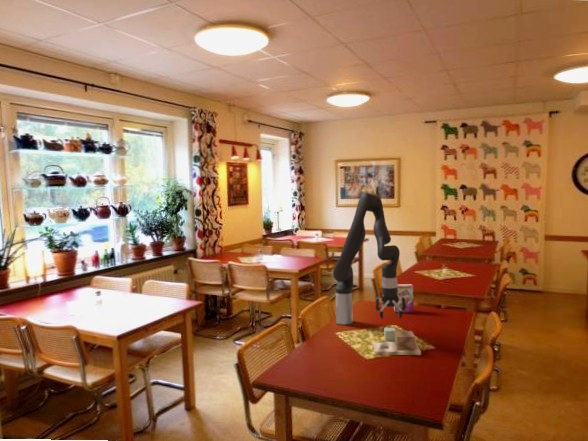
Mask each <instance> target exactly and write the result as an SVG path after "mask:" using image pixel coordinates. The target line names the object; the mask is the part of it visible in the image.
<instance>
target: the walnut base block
mask: <svg viewBox="0 0 588 441" xmlns="http://www.w3.org/2000/svg"><path fill="white" fill-rule="evenodd" d="M394 342H395V345H396V348H397V350H415V342H416V336H415V333H414V332H413V330H396V331H395V341H394Z"/></svg>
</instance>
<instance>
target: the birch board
mask: <svg viewBox="0 0 588 441" xmlns="http://www.w3.org/2000/svg"><path fill="white" fill-rule="evenodd" d="M372 346H373V350H374V355H375V356H378V355H379V356H388V355H389V356H390V355H391V356H405V355H406V356H421V355H422V351H421V350H420V347H419V346H418V344H417V342H416V341H415V350H397V348H396V345H395V341H372Z"/></svg>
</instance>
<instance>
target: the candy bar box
mask: <svg viewBox="0 0 588 441" xmlns="http://www.w3.org/2000/svg"><path fill="white" fill-rule="evenodd" d="M397 284H398V298H400V297H404V298H405V307H406V309H405V310H402V314H403V313H405V314H406V313H414V302H415V301H414V299H415V298H414V290H415V289H414V285H413V284H412V283H409V284H408V283H406V284H405V283H403V284H401V283H400V284H399V283H397ZM397 304H398V305H399V306H400V307H402V302H401V301H400V300H399V301H398V302H397ZM398 310H399V309H398V308H397V307H396V306H394V307H393V311H394V313H398Z"/></svg>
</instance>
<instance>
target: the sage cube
mask: <svg viewBox="0 0 588 441" xmlns="http://www.w3.org/2000/svg"><path fill="white" fill-rule="evenodd" d="M395 331H397V330H396V329H395V327H384V329H383V336H384V340H385V341H384V342H395Z"/></svg>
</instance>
